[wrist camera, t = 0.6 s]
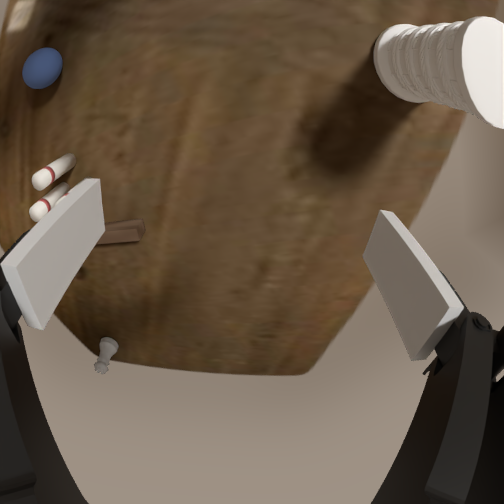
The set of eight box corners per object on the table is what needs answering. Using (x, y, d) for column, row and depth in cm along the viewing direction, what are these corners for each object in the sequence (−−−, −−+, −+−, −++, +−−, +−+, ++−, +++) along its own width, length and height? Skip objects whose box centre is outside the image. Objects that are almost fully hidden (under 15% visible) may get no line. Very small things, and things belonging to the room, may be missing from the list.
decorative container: (445, 102, 32) (533, 134, 17) (379, 102, 33) (462, 132, 18) (436, 29, 26) (526, 28, 11) (366, 22, 27) (447, 0, 12)
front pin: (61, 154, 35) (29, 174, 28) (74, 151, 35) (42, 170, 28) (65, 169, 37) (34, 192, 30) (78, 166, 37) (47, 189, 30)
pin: (56, 183, 38) (26, 207, 31) (68, 180, 38) (38, 204, 31) (60, 197, 39) (32, 223, 32) (72, 195, 39) (44, 221, 32)
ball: (37, 56, 26) (12, 58, 21) (68, 41, 26) (44, 40, 21) (41, 91, 29) (16, 97, 24) (72, 79, 29) (48, 82, 24)
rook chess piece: (117, 338, 57) (107, 367, 51) (120, 350, 60) (111, 378, 53) (99, 334, 57) (88, 362, 50) (103, 346, 59) (93, 374, 53)
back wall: (44, 230, 42) (36, 239, 40) (142, 218, 42) (136, 228, 40) (48, 240, 43) (40, 249, 41) (145, 230, 43) (139, 240, 41)
